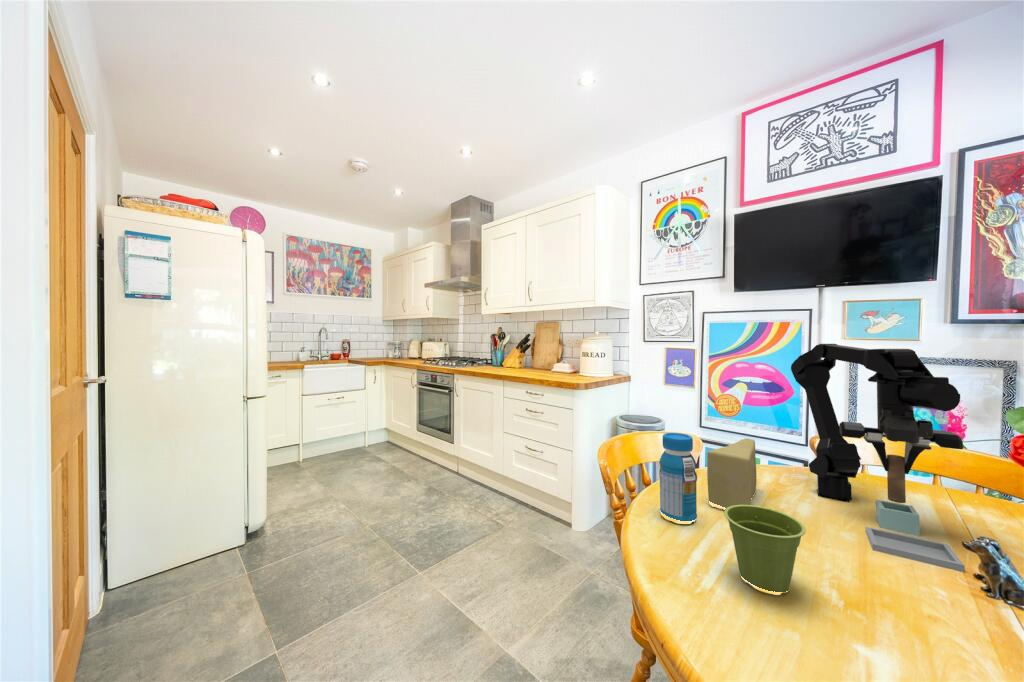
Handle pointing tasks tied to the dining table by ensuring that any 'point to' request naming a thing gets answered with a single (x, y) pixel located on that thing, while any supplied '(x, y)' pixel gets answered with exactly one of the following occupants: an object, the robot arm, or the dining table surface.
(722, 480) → the cheese
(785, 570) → the plant pot
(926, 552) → the tray
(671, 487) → the beverage bottle
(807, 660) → the dining table surface
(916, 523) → the open box
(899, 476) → the dowel
